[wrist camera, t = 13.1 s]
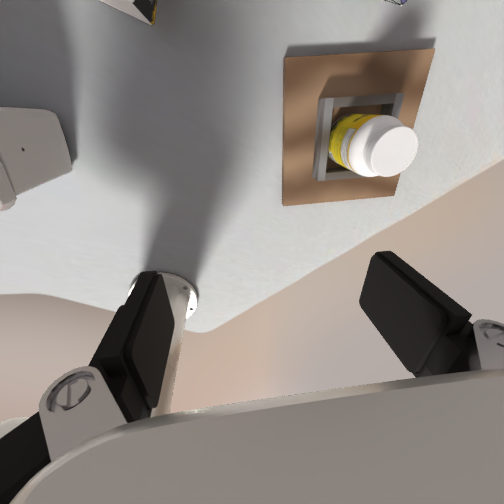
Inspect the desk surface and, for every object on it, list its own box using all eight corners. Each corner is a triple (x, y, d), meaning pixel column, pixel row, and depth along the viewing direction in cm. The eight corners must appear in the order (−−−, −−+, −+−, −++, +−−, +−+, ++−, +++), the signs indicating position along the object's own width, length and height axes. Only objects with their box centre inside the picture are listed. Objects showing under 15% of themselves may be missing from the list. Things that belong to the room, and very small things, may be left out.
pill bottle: (375, 117, 31) (440, 123, 22) (356, 165, 34) (406, 188, 25) (332, 108, 30) (381, 110, 20) (317, 159, 33) (354, 180, 24)
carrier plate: (389, 193, 38) (404, 201, 35) (281, 203, 37) (287, 212, 34) (427, 50, 28) (452, 43, 25) (283, 59, 28) (291, 53, 24)
